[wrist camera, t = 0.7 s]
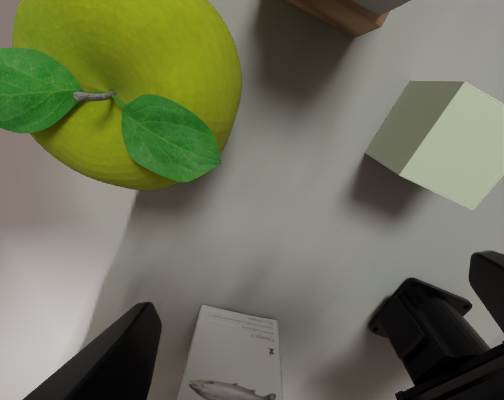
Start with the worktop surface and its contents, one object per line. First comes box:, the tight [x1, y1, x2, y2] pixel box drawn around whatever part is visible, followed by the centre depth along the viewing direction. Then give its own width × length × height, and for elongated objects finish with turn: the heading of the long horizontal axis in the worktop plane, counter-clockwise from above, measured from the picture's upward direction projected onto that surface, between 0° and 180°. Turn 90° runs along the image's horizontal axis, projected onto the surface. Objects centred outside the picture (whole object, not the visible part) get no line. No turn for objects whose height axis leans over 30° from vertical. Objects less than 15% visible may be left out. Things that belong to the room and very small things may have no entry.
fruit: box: [0, 0, 242, 190], centre depth 13 cm, size 9×9×10 cm
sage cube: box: [365, 81, 504, 210], centre depth 16 cm, size 5×5×5 cm
